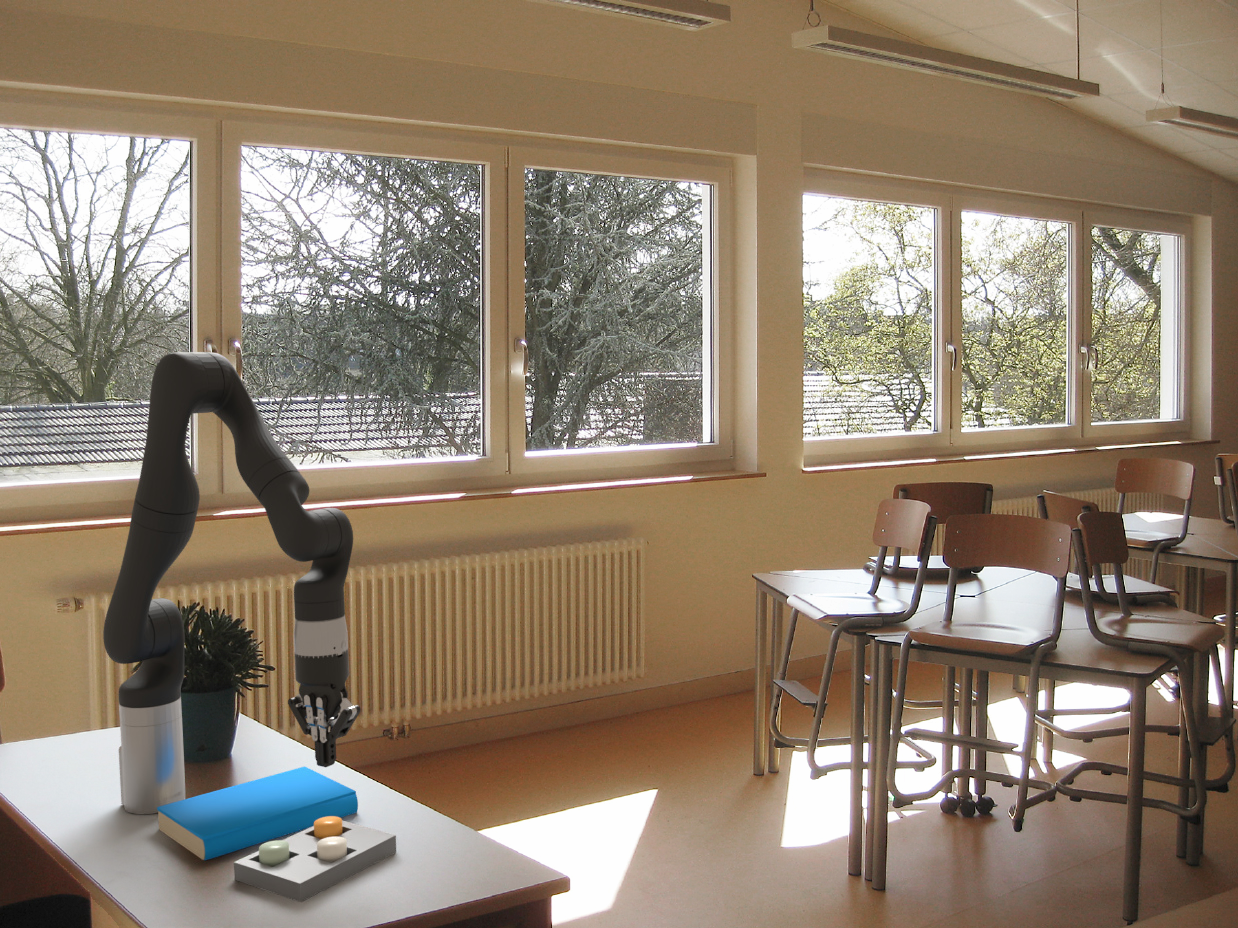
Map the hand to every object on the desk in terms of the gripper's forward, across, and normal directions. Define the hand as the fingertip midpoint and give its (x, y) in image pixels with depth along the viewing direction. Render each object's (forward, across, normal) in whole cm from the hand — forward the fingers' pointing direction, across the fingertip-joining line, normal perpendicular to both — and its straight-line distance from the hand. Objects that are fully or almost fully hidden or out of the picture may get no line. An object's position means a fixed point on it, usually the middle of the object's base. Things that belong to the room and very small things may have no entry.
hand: (326, 765), depth 165 cm
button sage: (+11, 0, -10) cm, 15 cm away
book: (+13, -17, +2) cm, 22 cm away
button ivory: (+11, +6, -5) cm, 13 cm away
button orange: (+11, 0, 0) cm, 11 cm away
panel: (+12, +3, -5) cm, 14 cm away
